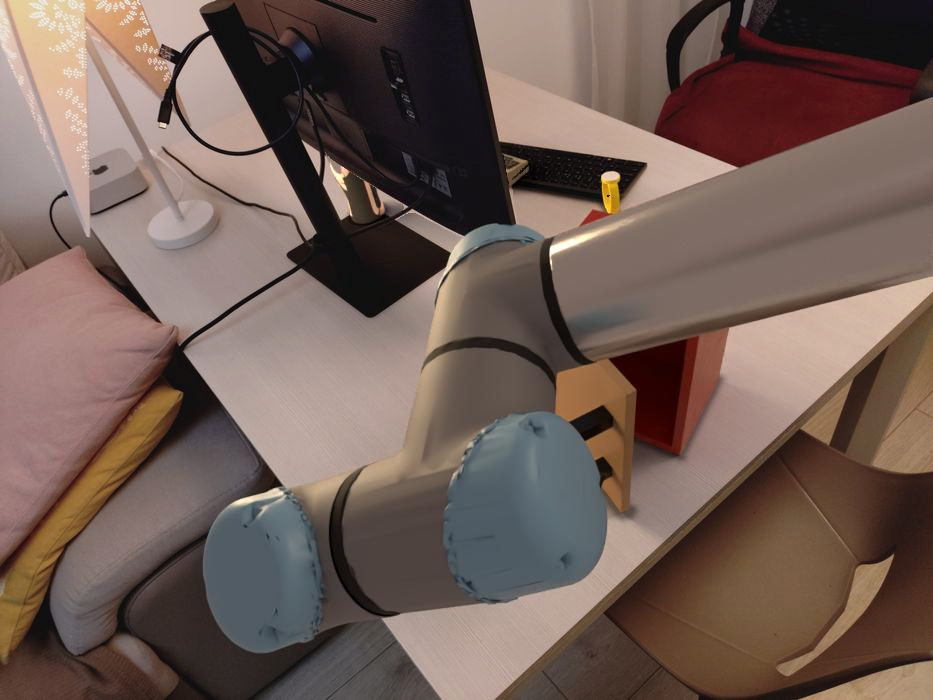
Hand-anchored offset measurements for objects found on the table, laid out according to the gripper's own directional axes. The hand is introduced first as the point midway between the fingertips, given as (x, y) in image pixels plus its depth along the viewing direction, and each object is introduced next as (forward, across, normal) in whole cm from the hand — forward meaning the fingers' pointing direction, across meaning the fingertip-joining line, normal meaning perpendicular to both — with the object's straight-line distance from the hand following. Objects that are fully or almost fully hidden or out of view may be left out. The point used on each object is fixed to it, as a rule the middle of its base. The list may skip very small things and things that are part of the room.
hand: (574, 474), depth 62 cm
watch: (+37, -23, +29) cm, 52 cm away
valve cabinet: (+16, -2, +8) cm, 18 cm away
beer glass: (+23, -60, +17) cm, 66 cm away
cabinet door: (+6, -4, -2) cm, 8 cm away
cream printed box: (+36, -49, +30) cm, 68 cm away
